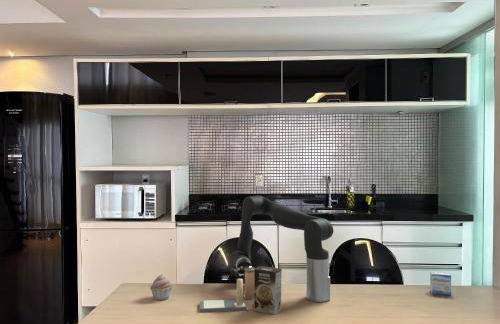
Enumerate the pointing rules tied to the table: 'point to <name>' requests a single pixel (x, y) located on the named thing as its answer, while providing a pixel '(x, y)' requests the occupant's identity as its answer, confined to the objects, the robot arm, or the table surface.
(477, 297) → the table surface
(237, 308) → the grey stand with post
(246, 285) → the spice jar
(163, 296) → the cupcake
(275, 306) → the coffee box
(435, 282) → the medicine box
